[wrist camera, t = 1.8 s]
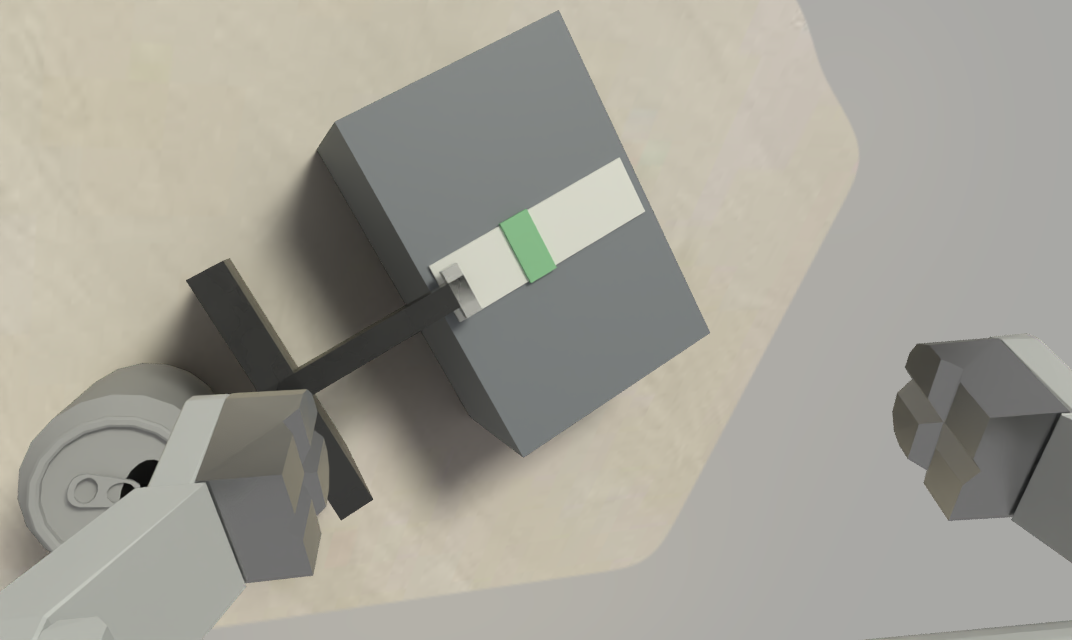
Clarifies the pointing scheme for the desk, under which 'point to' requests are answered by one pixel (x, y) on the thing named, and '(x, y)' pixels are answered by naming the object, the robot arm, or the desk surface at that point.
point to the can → (101, 448)
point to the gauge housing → (518, 232)
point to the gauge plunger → (279, 372)
